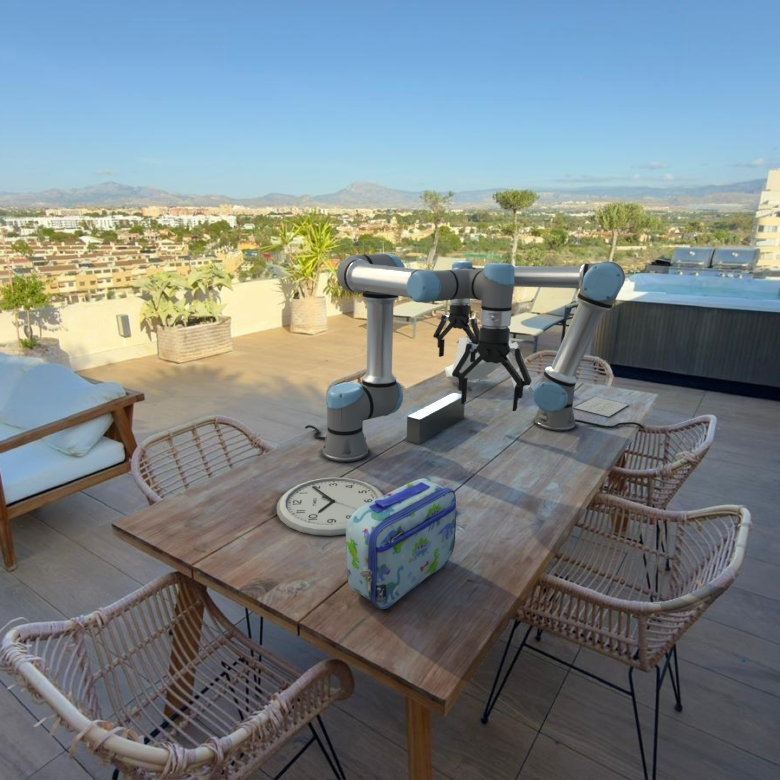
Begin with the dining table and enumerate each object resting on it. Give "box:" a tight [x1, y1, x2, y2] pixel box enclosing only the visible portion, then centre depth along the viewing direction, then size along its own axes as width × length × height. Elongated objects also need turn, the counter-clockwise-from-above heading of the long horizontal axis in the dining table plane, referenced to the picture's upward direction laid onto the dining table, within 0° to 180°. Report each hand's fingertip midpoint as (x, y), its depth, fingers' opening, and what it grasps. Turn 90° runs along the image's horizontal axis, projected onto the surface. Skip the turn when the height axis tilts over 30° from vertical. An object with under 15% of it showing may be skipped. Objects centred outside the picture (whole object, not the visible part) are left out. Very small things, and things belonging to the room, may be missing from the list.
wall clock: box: [276, 476, 385, 537], centre depth 142 cm, size 30×2×30 cm
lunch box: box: [345, 477, 457, 610], centre depth 110 cm, size 26×11×21 cm, turn 134°
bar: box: [406, 392, 466, 445], centre depth 198 cm, size 34×5×9 cm, turn 145°
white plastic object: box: [444, 334, 535, 394], centre depth 249 cm, size 37×45×31 cm
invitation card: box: [573, 396, 629, 418], centre depth 226 cm, size 21×1×15 cm
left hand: (488, 406), depth 138 cm, fingers open, 13 cm apart
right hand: (456, 358), depth 202 cm, fingers open, 13 cm apart
